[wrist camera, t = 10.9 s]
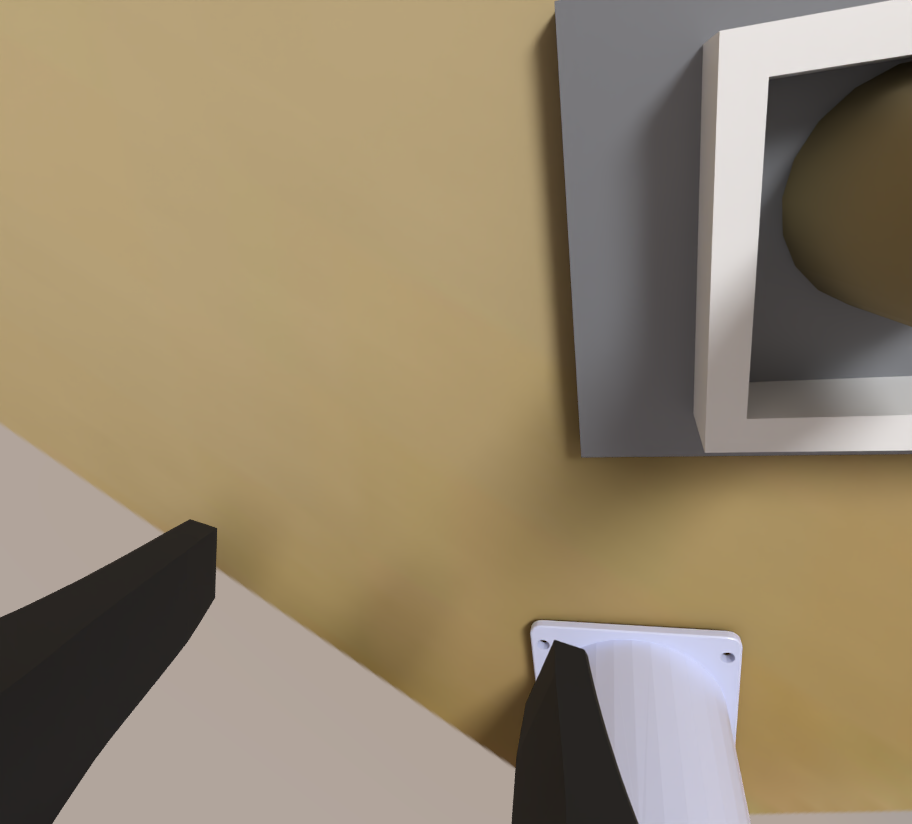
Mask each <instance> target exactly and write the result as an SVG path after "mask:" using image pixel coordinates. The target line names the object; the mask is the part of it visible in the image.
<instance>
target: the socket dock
mask: <svg viewBox="0 0 912 824" xmlns="http://www.w3.org/2000/svg"><path fill="white" fill-rule="evenodd" d="M555 18H556V35H557V52H558V69H559V86H560V103H561V120H562V137H563V154H564V171H565V188H566V205H567V222H568V239H569V256H570V273H571V290H572V307H573V324H574V341H575V359H576V376H577V393H578V410H579V427H580V444H581V457H665V456H765V455H864V454H912V327H911V326H908V325H905V324H902V323H899V322H896V321H893V320H891V319H888V318H885V317H882V316H879V315H876V314H873V313H871V312H868V311H865V310H862V309H859V308H856V307H853V306H850V305H848V304H846V303H844V302H842V301H840V300H838V299H836V298H833V297H831V296H829V295H827V294H825V293H823V292H821V291H819V290H818V289H817V288H816V287H815V286H814V285H813V284H812V283H811V282H810V281H809V280H808V279H807V278H806V277H805V276H804V275H803V274H802V273H801V272H800V271H799V270H798V269H797V268H796V266H795V264H794V262H793V259H792V257H791V254H790V252H789V249H788V247H787V244H786V242H785V239H784V237H783V223H782V197H783V194H784V190H785V187H786V184H787V181H788V178H789V174H790V171H791V168H792V165H793V161H794V159H795V157H796V156H797V154H798V153H799V151H800V150H801V148H802V146H803V145H804V143H805V142H806V140H807V139H808V137H809V136H810V134H811V133H812V131H813V130H814V128H815V126H816V125H817V123H818V122H819V121H820V120H821V119H822V118H823V117H824V116H825V115H826V114H827V113H828V112H830V111H831V110H832V109H833V108H834V107H835V106H836V105H837V104H838V103H839V102H840V101H841V100H843V99H844V98H845V97H846V96H847V95H848V94H849V93H850V92H851V91H852V90H853V89H855V88H856V87H858V86H860V85H862V84H863V83H865V82H867V81H869V80H871V79H873V78H874V77H876V76H878V75H880V74H882V73H884V72H885V71H887V70H889V69H891V68H893V67H895V66H897V65H898V64H901V63H905V62H910V61H912V0H559V1H555Z"/></svg>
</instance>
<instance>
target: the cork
mask: <svg viewBox="0 0 912 824" xmlns="http://www.w3.org/2000/svg"><path fill="white" fill-rule="evenodd" d="M782 223H783V237H784V239H785V242H786V244H787V247H788V249H789V252H790V254H791V257H792V259H793V262H794V264H795V266H796V268H797V269H798V270H799V271H800V272H801V273H802V274H803V275H804V276H805V277H806V278H807V279H808V280H809V281H810V282H811V283H812V284H813V285H814V286H815V287H816V288H817V289H818V290H819V291H821V292H823V293H825V294H827V295H829V296H831V297H833V298H836V299H838V300H840V301H842V302H844V303H846V304H848V305H850V306H853V307H856V308H859V309H862V310H865V311H868V312H871V313H873V314H876V315H879V316H882V317H885V318H888V319H891V320H893V321H896V322H899V323H902V324H905V325H908V326H911V327H912V61H910V62H905V63H901V64H898V65H897V66H895V67H893V68H891V69H889V70H887V71H885V72H884V73H882V74H880V75H878V76H876V77H874V78H873V79H871V80H869V81H867V82H865V83H863V84H862V85H860V86H858V87H856V88H855V89H853V90H852V91H851V92H850V93H849V94H848V95H847V96H846V97H845V98H844V99H843V100H841V101H840V102H839V103H838V104H837V105H836V106H835V107H834V108H833V109H832V110H831V111H830V112H828V113H827V114H826V115H825V116H824V117H823V118H822V119H821V120H820V121H819V122H818V123H817V125H816V126H815V128H814V130H813V131H812V133H811V134H810V136H809V137H808V139H807V140H806V142H805V143H804V145H803V146H802V148H801V150H800V151H799V153H798V154H797V156H796V157H795V159H794V161H793V165H792V168H791V171H790V174H789V178H788V181H787V184H786V187H785V190H784V194H783V197H782Z"/></svg>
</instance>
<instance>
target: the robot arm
mask: <svg viewBox="0 0 912 824" xmlns="http://www.w3.org/2000/svg"><path fill="white" fill-rule="evenodd" d="M216 548H217V528H215V527H212V526H209V525H206V524H203V523H200V522H197V521H194V520H191V519H190V520H188V521H186V522H184V523H182V524H180V525H179V526H177V527H175V528H173V529H171V530H169V531H168V532H166V533H164V534H162V535H161V536H159V537H157V538H155V539H154V540H152V541H150V542H148V543H146V544H145V545H143V546H141V547H139V548H137V549H136V550H134V551H132V552H130V553H128V554H127V555H125V556H123V557H121V558H119V559H117V560H116V561H114V562H112V563H110V564H108V565H106V566H104V567H103V568H101V569H99V570H97V571H95V572H93V573H91V574H90V575H88V576H86V577H84V578H82V579H80V580H78V581H76V582H74V583H72V584H70V585H68V586H66V587H64V588H62V589H60V590H58V591H56V592H54V593H52V594H50V595H48V596H46V597H44V598H42V599H39V600H37V601H35V602H33V603H31V604H29V605H27V606H25V607H23V608H20V609H18V610H16V611H14V612H12V613H9V614H7V615H5V616H3V617H0V824H52V823H53V822H54V820H55V818H56V817H57V815H58V814H59V812H60V810H61V809H62V808H63V806H64V805H65V803H66V802H67V800H68V799H69V797H70V796H71V794H72V792H73V791H74V790H75V788H76V787H77V785H78V784H79V782H80V781H81V779H82V778H83V776H84V775H85V773H86V772H87V770H88V769H89V767H90V766H91V764H92V763H93V761H94V760H95V758H96V757H97V756H98V755H99V753H100V752H101V751H102V749H103V748H104V747H105V745H106V744H107V743H108V741H109V740H110V739H111V737H112V736H113V735H114V734H115V732H116V731H117V730H118V729H119V727H120V726H121V725H122V724H123V722H124V721H125V720H126V719H127V717H128V716H129V715H130V714H131V712H132V711H133V710H134V709H135V707H136V706H137V705H138V704H139V702H140V701H141V700H142V699H143V697H144V696H145V695H146V694H147V692H148V691H149V690H150V689H151V687H152V686H153V685H154V684H155V682H156V681H157V680H158V679H159V678H160V676H161V675H162V674H163V672H164V671H165V670H166V669H167V667H168V666H169V665H170V664H171V662H172V661H173V660H174V658H175V657H176V656H177V655H178V653H179V652H180V651H181V650H182V648H183V647H184V646H185V644H186V643H187V642H188V640H189V639H190V637H191V636H192V634H193V632H194V631H195V629H196V628H197V626H198V625H199V623H200V622H201V620H202V618H203V616H204V615H205V613H206V612H207V610H208V608H209V607H210V605H211V603H212V601H213V600H214V598H215V579H216ZM530 636H531V645H532V654H533V663H534V672H535V681H536V682H535V684H534V686H533V689H532V691H531V693H530V695H529V698H528V700H527V702H526V706H525V711H524V717H523V722H522V728H521V733H520V739H519V745H518V751H517V758H516V771H515V784H514V799H513V812H512V824H751V822H750V817H749V812H748V807H747V803H746V798H745V793H744V788H743V783H742V778H741V773H740V768H739V763H738V758H737V753H736V749H735V741H736V727H737V714H738V701H739V687H740V674H741V661H742V643H741V639H740V637H739V636H738V635H737V634H735V633H734V632H730V631H719V630H702V629H685V628H668V627H651V626H635V625H618V624H601V623H584V622H567V621H550V620H538V621H535V622H534V623H533V624H532V626H531V632H530ZM540 640H545V641H547V642H541V641H540ZM723 653H731V654H729V655H724V654H723Z"/></svg>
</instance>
